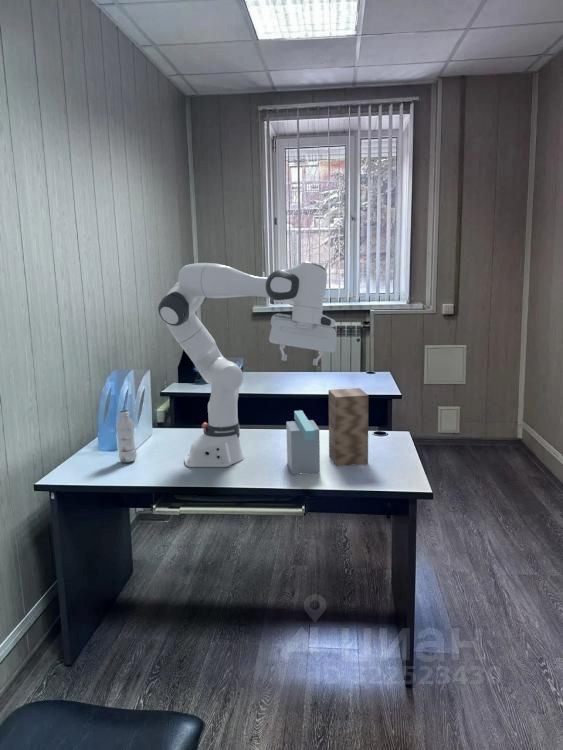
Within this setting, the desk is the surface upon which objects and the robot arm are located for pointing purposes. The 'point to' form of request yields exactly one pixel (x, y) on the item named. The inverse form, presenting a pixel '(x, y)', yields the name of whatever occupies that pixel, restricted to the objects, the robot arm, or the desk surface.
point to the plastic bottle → (126, 437)
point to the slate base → (302, 449)
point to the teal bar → (304, 425)
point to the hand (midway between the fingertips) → (299, 362)
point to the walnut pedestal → (348, 426)
